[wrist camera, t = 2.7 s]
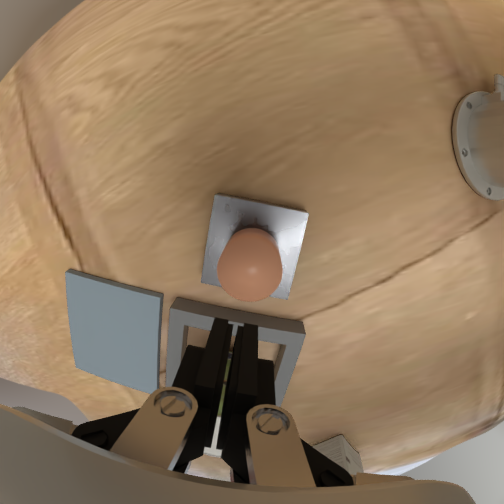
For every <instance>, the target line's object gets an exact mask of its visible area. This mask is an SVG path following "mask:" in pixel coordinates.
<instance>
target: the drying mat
mask: <svg viewBox="0 0 504 504" xmlns="http://www.w3.org/2000/svg"><path fill="white" fill-rule="evenodd" d="M65 275H66V293H67V306H68V316H69V325H70V333H71V340H72V347H73V353H74V359H75V365H76V368H79V369H81V370H84V371H86V372H89V373H91V374H94V375H96V376H99V377H101V378H104V379H107V380H110V381H112V382H115V383H118V384H121V385H124V386H127V387H130V388H133V389H136V390H140V391H143V392H146V393H149V394H152V393H153V392H154V391H155V390H157V389H159V367H160V340H161V321H162V307H163V294H162V293H157V292H153V291H149V290H145V289H141V288H137V287H133V286H129V285H126V284H122V283H118V282H114V281H111V280H107V279H103V278H100V277H96V276H93V275H89V274H86V273H82V272H79V271H75V270H72V269H69V270H67V271H66V272H65Z"/></svg>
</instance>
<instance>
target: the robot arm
mask: <svg viewBox="0 0 504 504" xmlns="http://www.w3.org/2000/svg"><path fill="white" fill-rule="evenodd" d="M494 85H495V91H493V94H491V93H488V92H484V91H477V92H473V93H470V94H468V95H466V96H465V97H464V98H463V99H462V100H461V101H460V102H459V104H458V106H457V108H456V111H455V114H454V118H453V127H452V133H453V145H454V151H455V155H456V159H457V162H458V165H459V167H460V170H461V172H462V174H463V176H464V178H465V180H466V181H467V183H468V184H469V185H470V187H471V188H472V189H473V190H474V191H475V192H476V193H477V194H479V195H480V196H482V197H484V198H487V199H490V200H498V201H499V200H503V199H504V77H503V76H501V75H499V74H495V75H494ZM228 321H229V320H227V319H222V318H217V317H215V318H214V321H213V325H212V328H211V331H210V334H209V338H208V341H207V344H206V348H201V347H196V346H192V345H188V346H187V348H186V351H185V353H184V356H183V358H182V361H181V363H180V366H179V369H178V371H177V374H176V376H175V379H174V381H173V384H172V387H162V388H159V389H157V390H155V391H154V392H153V393H152V394H150V396H149V397H148V399H147V400H146V401H145V403H144V404H143V405H142V407H141V408H139V409H136V410H132V411H129V412H125V413H122V414H118V415H114V416H110V417H106V418H102V419H98V420H94V421H90V422H86V423H83V424H80V425H79V426H78V425H74V424H73V422H72V421H69V420H65V419H62V418H58V417H54V416H50V415H47V414H43V413H40V412H37V411H34V410H31V409H28V408H25V407H13V408H10V407H8V406H4V405H1V404H0V504H476V503H475V502H474V500H473V499H472V497H471V496H470V495H469V493H468V492H467V491H466V490H465V489H464V488H463V487H461V486H459V485H456V484H454V483H450V482H444V481H436V480H414V479H412V478H411V477H407V476H393V475H379V474H368V473H359V472H356V473H355V475H352V474H350V473H349V472H348V471H346V470H345V469H344V468H343V467H341V466H340V465H338V464H337V463H335V462H334V461H332V460H331V459H329V458H328V457H326V456H325V455H323V454H322V453H320V452H319V451H317V450H316V449H315V448H313V447H312V446H310V445H309V444H308V443H306V442H305V441H303V440H302V439H301V438H300V436H299V433H298V430H297V427H296V424H295V421H294V419H293V417H292V415H291V414H290V413H289V412H288V411H286V410H285V409H283V408H281V407H278V406H276V397H275V379H274V364H273V361H271V360H265V359H259V358H258V325H254V324H248V323H244V325H243V326H239V325H238V328H237V332H236V337H235V342H234V347H233V352H232V357H231V362H230V367H229V371H228V376H227V381H226V387H225V394H224V400H223V407H222V413H221V419H220V426H219V432H218V439H217V445H216V449H218V450H222V453H221V458H222V459H223V460H224V461H225V462H226V463H227V464H228V465H229V466H230V467H231V468H230V479H231V482H228V481H221V480H215V479H209V478H203V477H198V476H193V475H189V474H187V472H188V470H189V468H190V465H191V461H192V460H194V459H196V458H198V457H200V456H202V455H203V453H204V448H205V447H208V448H211V445H212V440H213V435H214V430H215V425H216V420H217V415H218V410H219V405H220V400H221V395H222V389H223V384H224V378H225V372H226V366H227V360H228V354H229V348H230V342H231V337H232V331H233V325H234V324H229V323H228Z"/></svg>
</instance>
